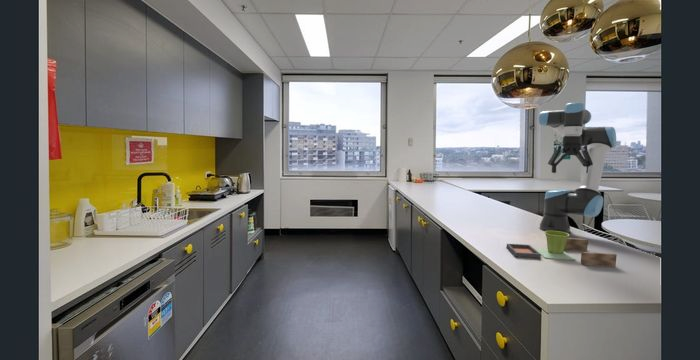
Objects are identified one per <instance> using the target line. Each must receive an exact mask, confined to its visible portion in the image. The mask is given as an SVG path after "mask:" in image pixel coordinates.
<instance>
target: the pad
mask: <svg viewBox="0 0 700 360" xmlns="http://www.w3.org/2000/svg"><path fill="white" fill-rule="evenodd" d="M534 249H535V250H536V251H538V252H539V253H540V254H541V257H542V258H544V259H551V260H567V261H576V258H575V257H573V256H572V255H570V253H569V254H568V253H567V252H566V251H564V253H561V254H554V253H552V252H549V251H548V249H540V248H539V249H537V248H534Z"/></svg>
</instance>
